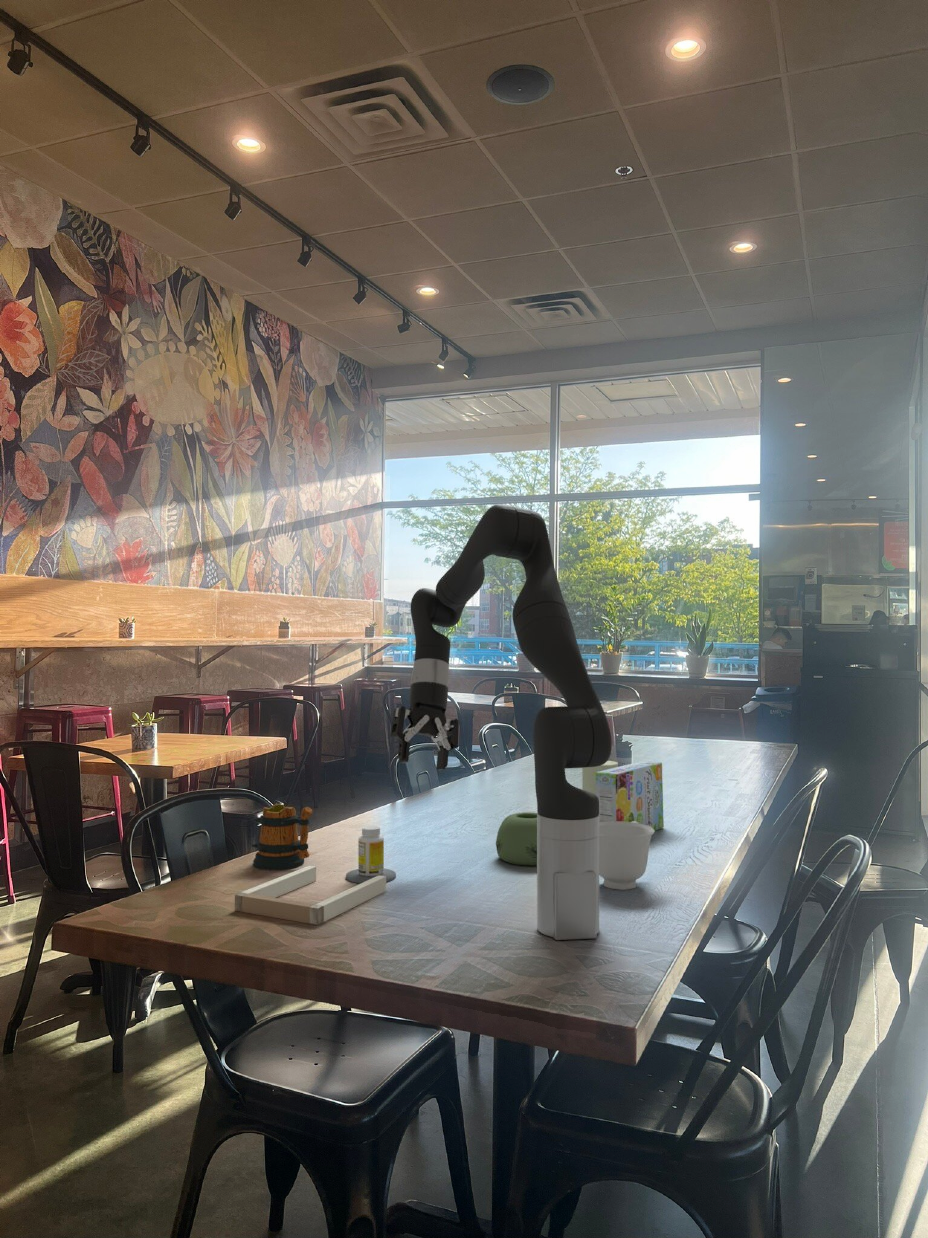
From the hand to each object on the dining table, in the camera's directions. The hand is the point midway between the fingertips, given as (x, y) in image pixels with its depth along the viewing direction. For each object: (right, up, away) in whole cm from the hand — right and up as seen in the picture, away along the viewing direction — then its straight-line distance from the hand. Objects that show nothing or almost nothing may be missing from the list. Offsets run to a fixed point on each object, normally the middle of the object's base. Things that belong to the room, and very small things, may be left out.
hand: (422, 766), depth 173 cm
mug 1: (-26, -19, -2) cm, 32 cm away
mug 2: (+21, -19, +4) cm, 29 cm away
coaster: (-9, -18, -11) cm, 23 cm away
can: (+43, -20, +54) cm, 72 cm away
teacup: (+36, -19, -14) cm, 43 cm away
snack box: (+45, -19, +24) cm, 54 cm away
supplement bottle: (-9, -18, -10) cm, 23 cm away
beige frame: (-17, -18, -25) cm, 35 cm away
